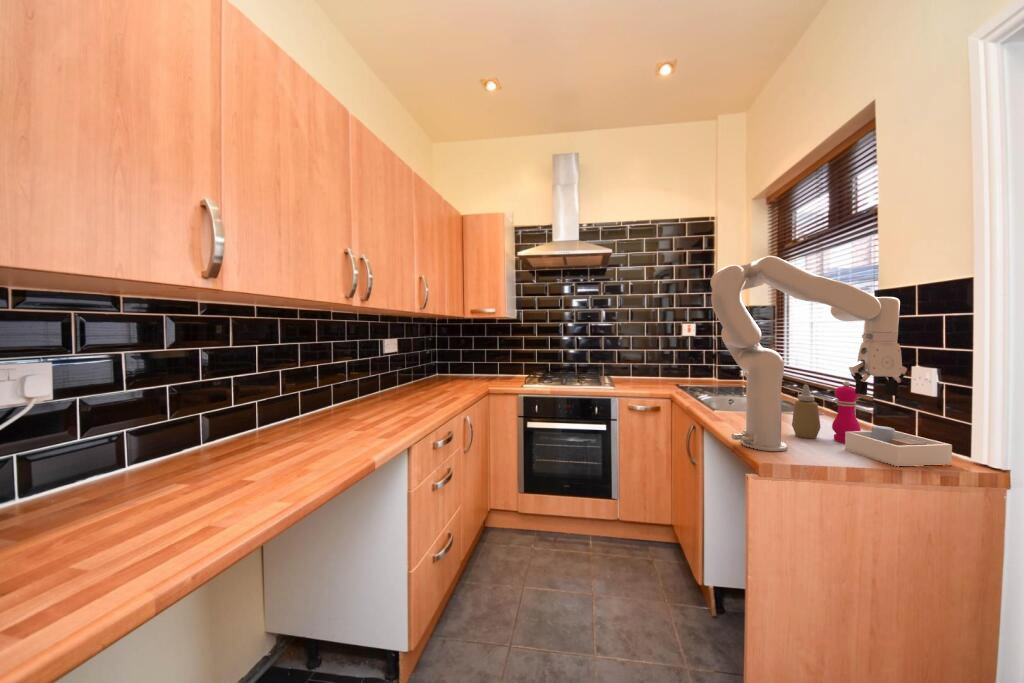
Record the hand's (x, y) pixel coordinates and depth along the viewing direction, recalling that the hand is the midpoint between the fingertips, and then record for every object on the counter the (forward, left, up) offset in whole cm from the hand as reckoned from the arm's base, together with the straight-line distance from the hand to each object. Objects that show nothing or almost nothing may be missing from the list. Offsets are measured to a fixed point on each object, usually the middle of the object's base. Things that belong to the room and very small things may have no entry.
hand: (876, 394), depth 118 cm
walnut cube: (+1, -9, -17) cm, 19 cm away
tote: (+1, -5, -17) cm, 18 cm away
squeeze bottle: (-7, +18, -18) cm, 26 cm away
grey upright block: (+1, -2, -17) cm, 17 cm away
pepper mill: (+1, +11, -18) cm, 21 cm away
